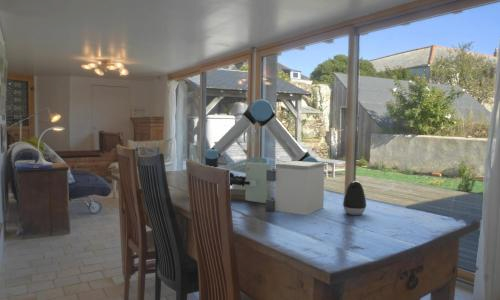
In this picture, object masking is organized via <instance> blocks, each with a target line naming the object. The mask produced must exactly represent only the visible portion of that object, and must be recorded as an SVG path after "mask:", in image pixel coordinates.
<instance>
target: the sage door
mask: <svg viewBox="0 0 500 300" xmlns="http://www.w3.org/2000/svg"><path fill="white" fill-rule="evenodd" d="M267 170H271V164H270V163H264V162H249V161H248V162H245V177H246V180H252V181H256V186H248V185H245V196H244V197H245V201H246V202H247V201H249V202H254V203H256V202H257V203H263V204H266V200H267V199H269V200H271V198H270V196H271V195H270V193H271V191H270V189H271V188H270V187H271V185H270V184H271V181H266V172H267Z"/></svg>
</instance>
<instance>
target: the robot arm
mask: <svg viewBox="0 0 500 300" xmlns="http://www.w3.org/2000/svg"><path fill="white" fill-rule="evenodd" d="M277 117H278V113H277V112H276V111H275V110H274V109H273V106H272V104H271V103H270V102H269V101H268V100H266V99H261V98H260V99H256V100H255V101H253V102H251V103H250V104H249V106H248V107H247V108H246V110H245V111H244V112H243V113H242V114H241V117H240V118H239V119H238V120H237V122H236V123H234V124H233V125H232V126H231V127H230V129H229V130H228V131H227V132H226V133H225V134H224V135H223V136H221V137H220V138H219V140H217V142H216V143H215V144H214V145H213V146H212V147H211V148H210V149H206V150H205V151H204V166H205V165H209V166H214V167H218V168H219V159H220V158H221V157H222V156H223V155H224V154H225V153H226V151H228V150H229V149H230V148H231V147H232V146H233V145H234V144H235V143H236V142H237V141H238V140H239V139H240V138H241V137H242V136H243V135H244V134H245V133H246V131H247V130H249V128H251V127H254V126H255V125H256V124H258V125H259V126H260V127H261V128H265V130H267V132H268V133H269V134H270V136H272V138H273V139H274V140H275V141H276V142H277V143H278V144H279V145H278V146H280V147H281V148H282V149H283V151H284V152H285V153H286V154H287V155H288V156H289V157H290V159H291V161H304V162H318V163H320V161H319V160H318V159H317V158H316V157H314V156H313V155H312V154H311V153H310V152H309V151H308V149H304V148H303V147H302V146H301V145H300V144H299V143H298V142H297V140H296V139H295V138H294V137H293V136H292V134H290V131H288V130H287V129H286V127H285V126H284V125H283V124H282V122H281V121H280V120H279V119H278V118H277ZM291 161H290V162H291ZM229 172H230V185H231V186H233V185H237V186H242V187H245V186H246V185H248V186H256V181H252V180H246V176H242V175H240V176H239V175H235V174H234V172H232V171H229Z"/></svg>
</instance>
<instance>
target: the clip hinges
mask: <svg viewBox="0 0 500 300" xmlns="http://www.w3.org/2000/svg"><path fill="white" fill-rule="evenodd" d="M275 172H276V168H272V169H270V170H267V172H266V181H270V182H275ZM265 211H268V212H276V211H275V197H271V199H270V200H269V199H267V200H266V203H265Z"/></svg>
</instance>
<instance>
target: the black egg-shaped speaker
mask: <svg viewBox="0 0 500 300" xmlns="http://www.w3.org/2000/svg"><path fill="white" fill-rule="evenodd" d="M365 194H366V193H365V190H364V188H363V186H362V184H361V183H360V181H358V180H352V181H351V182H350V183H349V184H348V186H347V188H346V191H345V193H344V197H343V202H342V206H343V209H344V211H345V212H346V213H347V215H348V214H349V215H352V216H360V215H363V213H364V212H365V210H366V208H367V199H366V195H365Z"/></svg>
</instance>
